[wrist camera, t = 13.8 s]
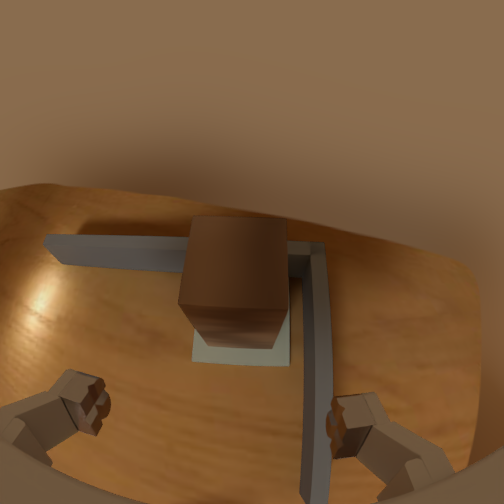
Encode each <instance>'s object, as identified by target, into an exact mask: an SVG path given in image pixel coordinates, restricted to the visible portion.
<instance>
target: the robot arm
mask: <svg viewBox="0 0 504 504" xmlns="http://www.w3.org/2000/svg"><path fill="white" fill-rule="evenodd" d="M105 386H106V385H105V383H104V380H103V379H102V378H99V377H96V376H92V375H89V374H86V373H83V372H79V371H75V370H72V369H68V370H66V371H65V372H64V373H63V375H62V376H61V377H60V378H59V379H58V380H57V382H56V383H55V384H54V385H53V386H52V388H51V389H50V390H49V391H48V392H46V391H44V392H41V393H39V394H36V395H34V396H31V397H28V398H25V399H23V400H20V401H17V402H14V403H12V404H9V405H6V406H3V407H1V408H0V504H148V503H144V502H140V501H136V500H133V499H129V498H126V497H123V496H119V495H116V494H113V493H110V492H108V491H105V490H102V489H99V488H97V487H94V486H91V485H89V484H87V483H84V482H82V481H79V480H77V479H75V478H73V477H70V476H68V475H66V474H64V473H62V472H60V471H58V470H56V469H54V468H52V467H51V466H52V464H53V462H52V460H51V458H50V457H49V456H48V455H47V453H46V451H48V450H50V449H51V448H53V447H55V446H56V445H58V444H59V443H61V442H63V441H64V440H66V439H67V438H69V437H70V436H72V435H74V434H75V433H77V432H78V431H81V432H84V433H87V434H90V435H93V436H97V434H98V433H99V431H100V429H101V427H102V425H103V424H102V419H104V418H106V417H107V416H108V414H109V412H110V408H111V400H110V397H109V394H108V393H107V392H106V391H105V390H104V388H105ZM330 405H331V408H332V409H331V410H330V411H329V412H328V413H327V417H326V433H327V436H328V437H329V438H330V439H332V441H331V443H330V449H331V453H332V457H333V459H340V458H348V457H355V456H356V458H357V459H358V460H359V461H360V462H361V463H363V464H364V465H365V466H366V467H367V468H368V469H369V470H370V471H372V472H373V473H374V474H375V475H376V476H377V477H378V478H380V479H381V480H382V481H383V482H384V483H385V484H387V486H386V487H385V488H384V489H383V490H382V492H381V493H380V494H379V495H378V496H377V499H378V502H376V503H372V504H504V446H502V447H501V448H499V449H498V450H496V451H495V452H493V453H491V454H490V455H488V456H486V457H485V458H483V459H481V460H480V461H478V462H476V463H474V464H472V465H470V466H468V467H467V468H465V469H463V470H461V471H459V472H457V473H455V471H454V470H453V468H452V466H451V464H450V462H449V460H448V459H447V457H446V455H445V453H444V451H443V450H442V448H440V447H438V446H436V445H434V444H433V443H431V442H429V441H427V440H425V439H423V438H422V437H420V436H418V435H416V434H415V433H413V432H411V431H409V430H408V429H406V428H404V427H403V426H401V425H399V424H397V423H396V422H390V420H389V418H388V416H387V414H386V412H385V410H384V408H383V406H382V404H381V402H380V400H379V398H378V397H377V395H376V393H375V392H369V393H361V394H353V395H344V396H334V397H333V398H332V401H331V404H330Z"/></svg>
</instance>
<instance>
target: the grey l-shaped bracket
mask: <svg viewBox="0 0 504 504" xmlns="http://www.w3.org/2000/svg"><path fill="white" fill-rule="evenodd" d="M188 239H189V237H165V236H124V235H66V234H47V235H46V238H45V240H44V243H43V245H44V246H45V248H46V249H47V250H48V251H49V252H50V253H51V254H52V255H53V256H54V257H55V258H56V259H57V260H58V261H60V262H61V263H62V264H67V265H79V266H91V267H104V268H118V269H132V270H147V271H163V272H181V273H183V268H184V262H185V256H186V250H187V245H188ZM287 249H288V277H299V278H302V291H303V326H304V408H303V440H302V461H301V478H300V492H299V493H300V495H301V497H302V498H303V500H304V502H305V504H328V496H329V485H330V472H331V456H332V453H331V449H330V443H331V441H332V439H330V438H329V437H328V436H327V433H326V417H327V413H328V412H329V411H330V410H331V409H332V408H331V405H330V404H331V401H332V398H333V356H332V331H331V313H330V298H329V285H328V274H327V263H326V253H325V244H324V242H305V241H287ZM288 293H289V278H288ZM289 360H290V313H289V310H288V312H287V315H286V317H285V320H284V322H283V324H282V327H281V329H280V332H279V334H278V336H277V339H276V341H275V343H274V346H273V348H272V349H245V348H227V347H212V346H208V345H207V344H206V343H205V341H204V340H203V339H202V337H201V336H200V335H199V333H198V332H197V330H196V329H195V332H194V342H193V352H192V361H194V362H205V363H217V364H231V365H251V366H289Z"/></svg>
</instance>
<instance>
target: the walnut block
mask: <svg viewBox="0 0 504 504" xmlns="http://www.w3.org/2000/svg"><path fill="white" fill-rule="evenodd" d="M178 305H179V306H180V308H181V309H182V311H183V312H184V314H185V315H186V316H187V318H188V319H189V321H190V322H191V323H192V325H193V326H194V328H195V329H196V330H197V332H198V333H199V335H200V336H201V337H202V339H203V340H204V341H205V343H206V344H207V345H208V346H212V347H227V348H245V349H272V348H273V346H274V343H275V341H276V339H277V336H278V334H279V332H280V329H281V327H282V324H283V322H284V320H285V317H286V315H287V312H288V310H289V293H288V249H287V221H286V219H284V218H261V217H231V216H193V219H192V224H191V229H190V234H189V239H188V245H187V250H186V256H185V262H184V268H183V274H182V280H181V286H180V293H179V299H178Z"/></svg>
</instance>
